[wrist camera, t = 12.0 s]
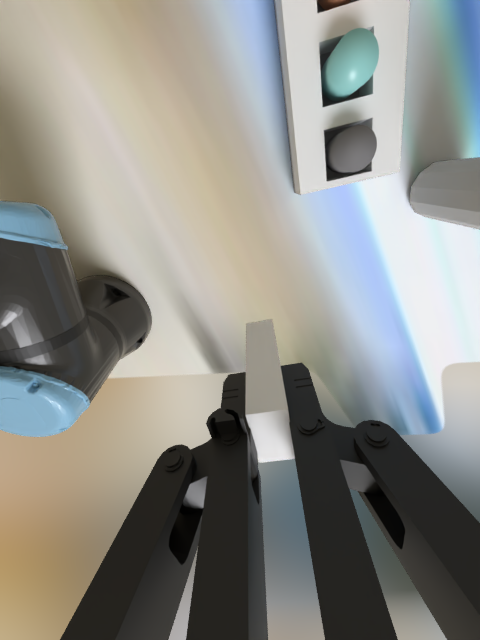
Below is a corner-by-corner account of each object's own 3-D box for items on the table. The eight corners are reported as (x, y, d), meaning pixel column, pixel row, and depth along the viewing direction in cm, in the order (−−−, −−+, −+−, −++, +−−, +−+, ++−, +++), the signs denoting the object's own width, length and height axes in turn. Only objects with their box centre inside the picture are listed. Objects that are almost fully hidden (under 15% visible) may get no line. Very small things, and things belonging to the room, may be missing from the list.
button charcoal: (325, 176, 35) (336, 176, 30) (323, 136, 33) (334, 130, 28) (359, 168, 34) (376, 167, 30) (359, 127, 32) (377, 119, 28)
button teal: (321, 105, 31) (333, 94, 27) (318, 56, 29) (331, 35, 25) (359, 95, 31) (378, 82, 26) (359, 44, 29) (379, 21, 24)
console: (294, 192, 38) (300, 194, 34) (270, -34, 28) (274, -73, 24) (381, 172, 37) (399, 171, 32) (389, -74, 27) (417, -124, 22)
